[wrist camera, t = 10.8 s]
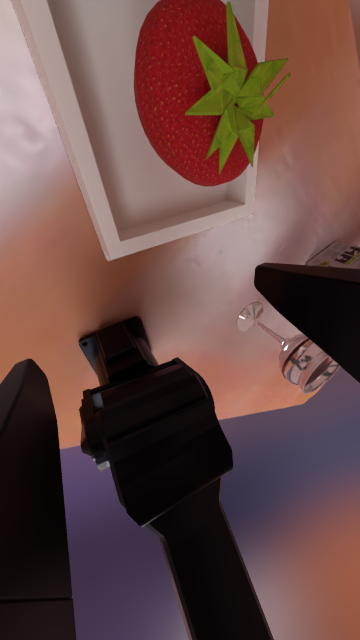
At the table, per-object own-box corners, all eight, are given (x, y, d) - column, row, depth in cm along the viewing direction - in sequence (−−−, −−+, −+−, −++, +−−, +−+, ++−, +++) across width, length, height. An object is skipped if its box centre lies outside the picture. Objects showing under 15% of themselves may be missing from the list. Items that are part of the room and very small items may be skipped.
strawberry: (145, 8, 12) (300, -218, 5) (217, 136, 17) (346, 117, 10) (85, 106, 13) (142, 36, 6) (170, 201, 18) (258, 226, 11)
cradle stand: (229, 218, 23) (294, 238, 17) (105, 257, 19) (134, 299, 13) (231, -150, 11) (427, -463, 6) (-72, -229, 8) (-389, -1358, 2)
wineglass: (269, 319, 36) (342, 369, 27) (236, 343, 35) (301, 402, 27) (265, 288, 31) (352, 336, 23) (227, 315, 31) (302, 375, 22)
